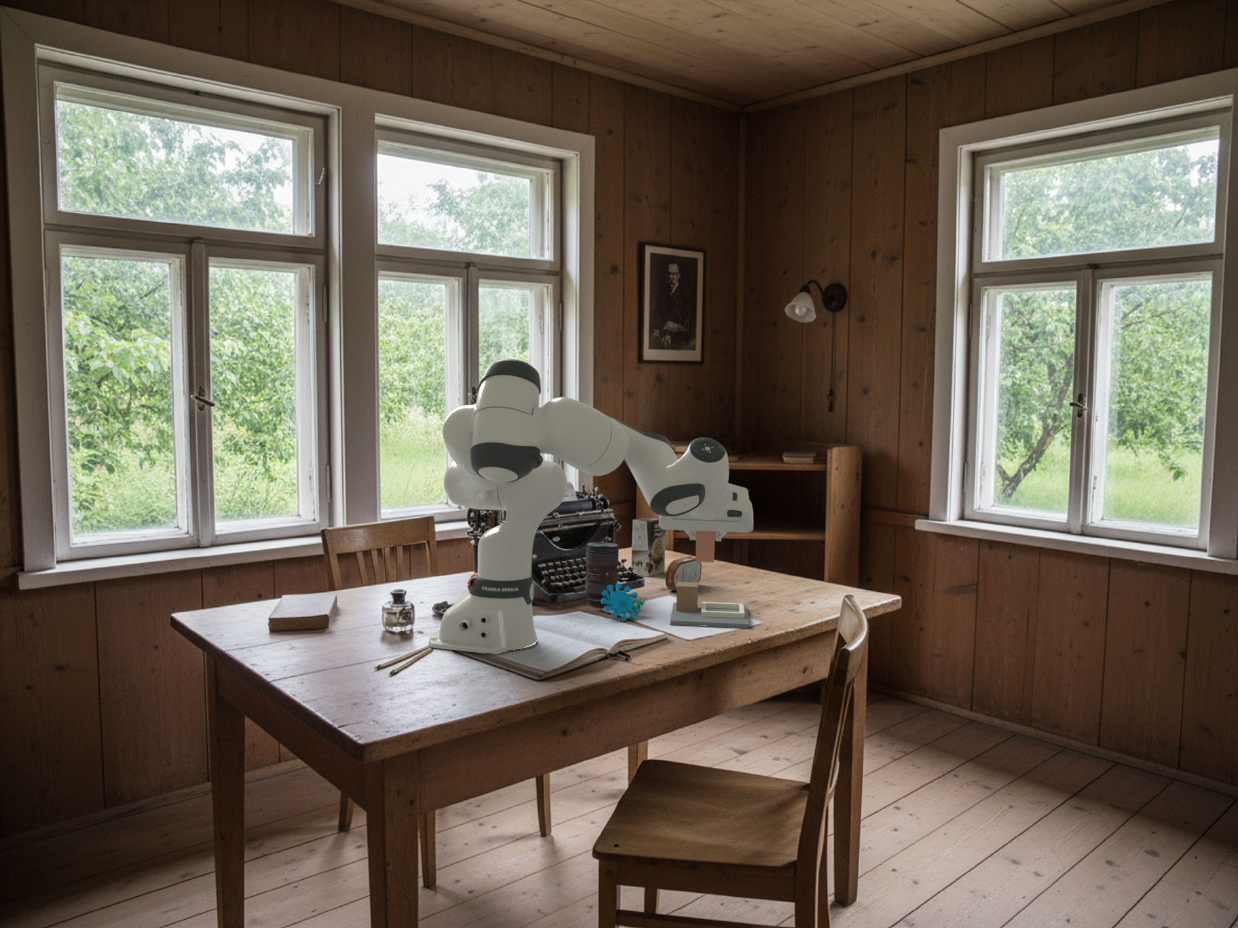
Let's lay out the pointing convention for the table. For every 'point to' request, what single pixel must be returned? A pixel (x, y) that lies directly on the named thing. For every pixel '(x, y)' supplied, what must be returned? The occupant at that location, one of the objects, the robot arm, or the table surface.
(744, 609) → the base plate
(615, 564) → the camera lens
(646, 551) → the coffee box
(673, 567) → the tin
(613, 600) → the gear
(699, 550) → the pillar block
